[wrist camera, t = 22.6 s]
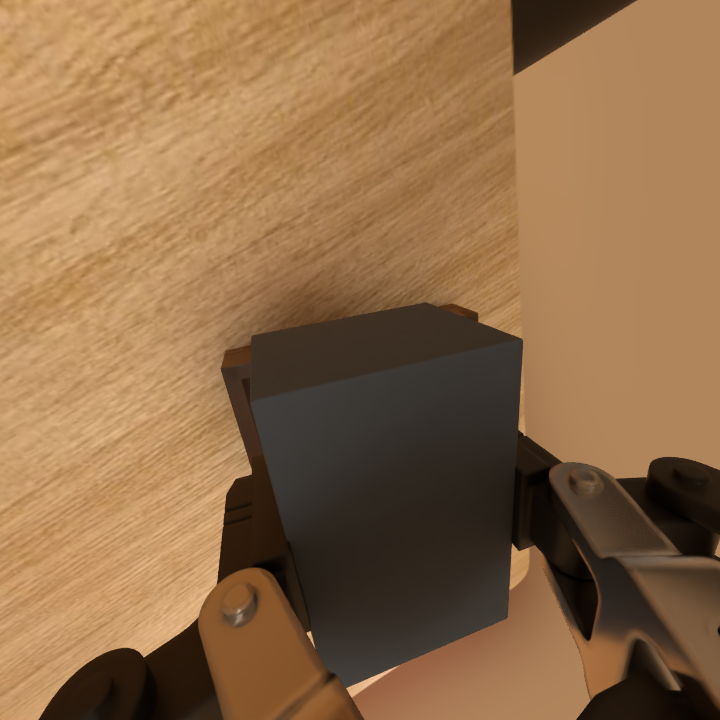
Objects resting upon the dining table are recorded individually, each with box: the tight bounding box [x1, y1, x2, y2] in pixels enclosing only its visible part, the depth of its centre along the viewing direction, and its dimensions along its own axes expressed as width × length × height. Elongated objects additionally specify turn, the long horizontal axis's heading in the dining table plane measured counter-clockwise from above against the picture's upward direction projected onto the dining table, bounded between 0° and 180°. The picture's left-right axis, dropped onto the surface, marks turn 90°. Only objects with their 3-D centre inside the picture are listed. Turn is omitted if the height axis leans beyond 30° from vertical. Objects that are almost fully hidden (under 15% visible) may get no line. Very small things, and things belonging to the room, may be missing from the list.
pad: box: [250, 303, 523, 688], centre depth 9 cm, size 5×8×4 cm, turn 7°
